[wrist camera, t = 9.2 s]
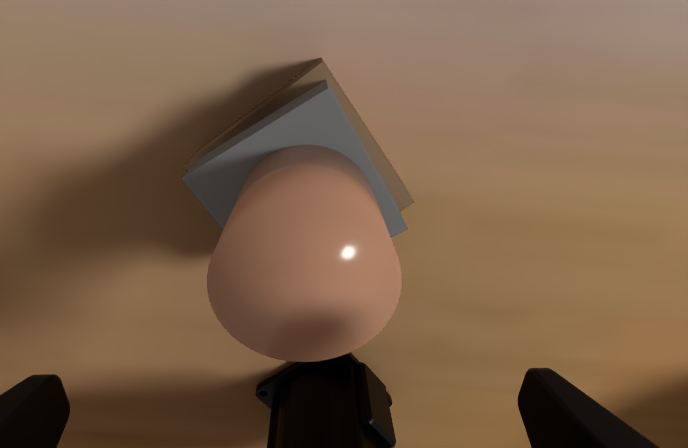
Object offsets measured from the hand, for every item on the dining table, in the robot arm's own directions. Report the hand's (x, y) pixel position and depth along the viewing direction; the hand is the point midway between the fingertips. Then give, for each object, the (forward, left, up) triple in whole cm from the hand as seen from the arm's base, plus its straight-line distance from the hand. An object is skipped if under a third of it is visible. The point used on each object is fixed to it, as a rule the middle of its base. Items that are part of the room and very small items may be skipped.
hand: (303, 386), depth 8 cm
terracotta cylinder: (0, 0, -8) cm, 8 cm away
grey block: (0, 0, -10) cm, 11 cm away
